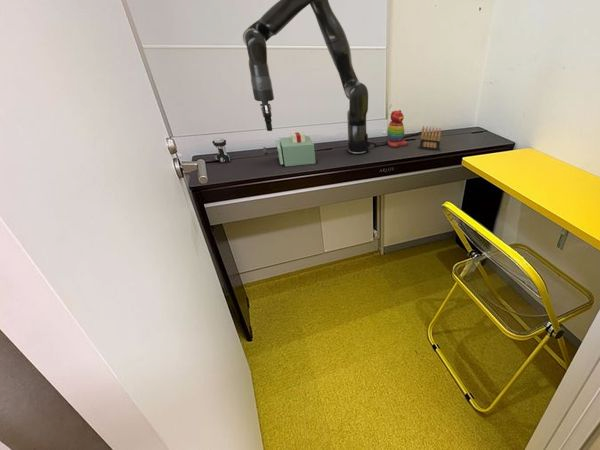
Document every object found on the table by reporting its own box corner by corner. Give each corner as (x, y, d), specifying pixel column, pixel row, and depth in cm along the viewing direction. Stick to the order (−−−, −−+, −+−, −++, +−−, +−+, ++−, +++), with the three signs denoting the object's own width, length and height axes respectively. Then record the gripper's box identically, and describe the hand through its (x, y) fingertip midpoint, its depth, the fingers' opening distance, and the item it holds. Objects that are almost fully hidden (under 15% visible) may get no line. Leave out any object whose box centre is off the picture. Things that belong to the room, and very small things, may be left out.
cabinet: (285, 166, 139) (282, 146, 134) (282, 156, 148) (279, 138, 143) (315, 163, 144) (313, 144, 139) (311, 154, 153) (309, 135, 148)
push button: (212, 162, 138) (205, 140, 133) (219, 157, 143) (214, 136, 137) (226, 163, 138) (220, 141, 132) (233, 159, 142) (228, 137, 137)
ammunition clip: (439, 149, 170) (442, 127, 163) (439, 150, 168) (442, 128, 162) (419, 147, 171) (421, 125, 164) (419, 148, 169) (421, 126, 163)
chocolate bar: (304, 139, 144) (303, 132, 142) (305, 142, 141) (304, 135, 139) (291, 139, 142) (290, 132, 140) (292, 143, 139) (291, 135, 137)
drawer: (266, 166, 136) (263, 150, 132) (264, 157, 144) (261, 141, 140) (309, 161, 143) (307, 146, 139) (305, 153, 151) (303, 138, 147)
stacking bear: (392, 148, 167) (394, 114, 157) (382, 142, 174) (383, 109, 164) (408, 145, 173) (411, 112, 163) (398, 139, 179) (400, 107, 169)
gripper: (273, 90, 121) (280, 134, 130) (270, 84, 131) (277, 125, 140) (252, 90, 118) (261, 135, 128) (251, 84, 128) (259, 126, 138)
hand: (269, 130), depth 134 cm, fingers closed
